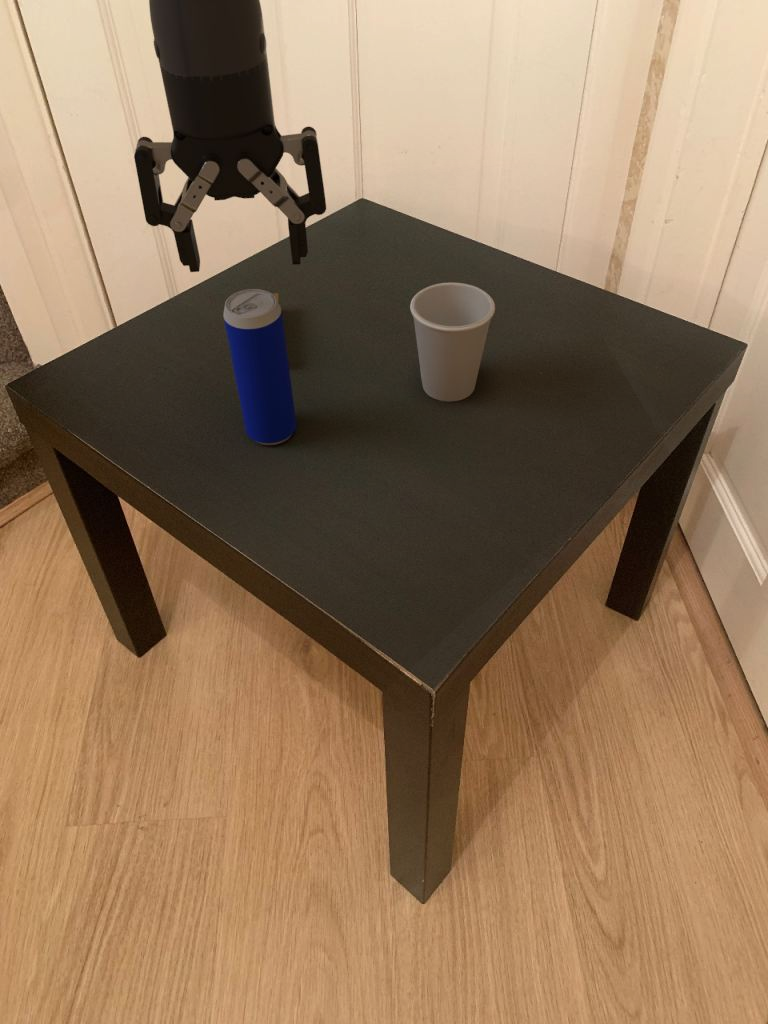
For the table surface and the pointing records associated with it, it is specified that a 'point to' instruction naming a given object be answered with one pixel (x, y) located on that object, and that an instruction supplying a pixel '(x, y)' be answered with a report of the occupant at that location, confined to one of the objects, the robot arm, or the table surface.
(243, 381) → the beverage can
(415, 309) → the dixie cup
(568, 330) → the table surface
